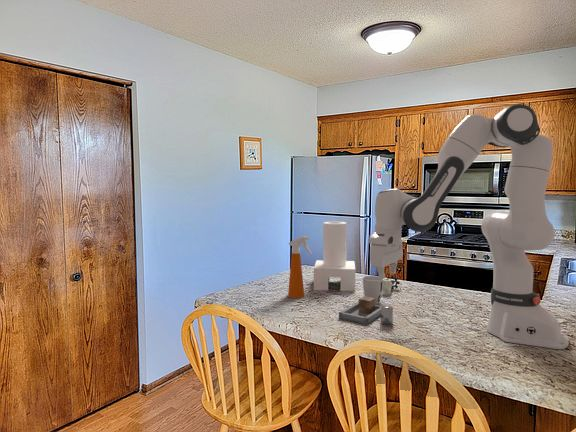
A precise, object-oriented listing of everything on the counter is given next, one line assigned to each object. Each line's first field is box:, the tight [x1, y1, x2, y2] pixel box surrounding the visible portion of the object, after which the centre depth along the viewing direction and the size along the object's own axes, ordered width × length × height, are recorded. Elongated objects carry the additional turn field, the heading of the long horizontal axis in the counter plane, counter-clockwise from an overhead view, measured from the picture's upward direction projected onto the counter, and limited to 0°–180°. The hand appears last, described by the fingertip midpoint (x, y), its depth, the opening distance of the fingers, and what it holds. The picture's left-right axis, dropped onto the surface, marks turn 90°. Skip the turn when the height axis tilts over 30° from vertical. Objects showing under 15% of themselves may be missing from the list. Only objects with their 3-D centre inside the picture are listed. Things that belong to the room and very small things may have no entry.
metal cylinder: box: [380, 304, 394, 327], centre depth 137 cm, size 4×4×6 cm
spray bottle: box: [287, 235, 313, 299], centre depth 169 cm, size 7×11×26 cm, turn 71°
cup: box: [362, 275, 383, 305], centre depth 161 cm, size 8×8×10 cm
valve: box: [382, 274, 401, 296], centre depth 176 cm, size 7×7×12 cm
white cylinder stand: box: [313, 221, 356, 292], centre depth 187 cm, size 19×19×30 cm
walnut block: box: [358, 295, 376, 314], centre depth 148 cm, size 4×4×5 cm
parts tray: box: [338, 301, 382, 326], centre depth 145 cm, size 11×16×2 cm
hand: (387, 276), depth 136 cm, fingers open, 8 cm apart
